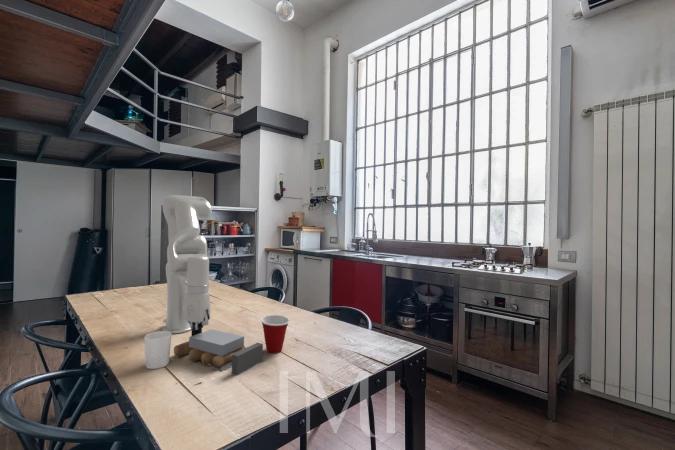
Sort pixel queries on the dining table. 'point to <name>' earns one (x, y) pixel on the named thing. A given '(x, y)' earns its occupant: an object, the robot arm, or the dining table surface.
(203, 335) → the slab
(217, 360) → the roller
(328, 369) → the dining table surface
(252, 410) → the dining table surface
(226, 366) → the grey flat plate
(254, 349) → the block
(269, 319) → the plastic cup
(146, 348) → the white cup
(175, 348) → the roller bed
